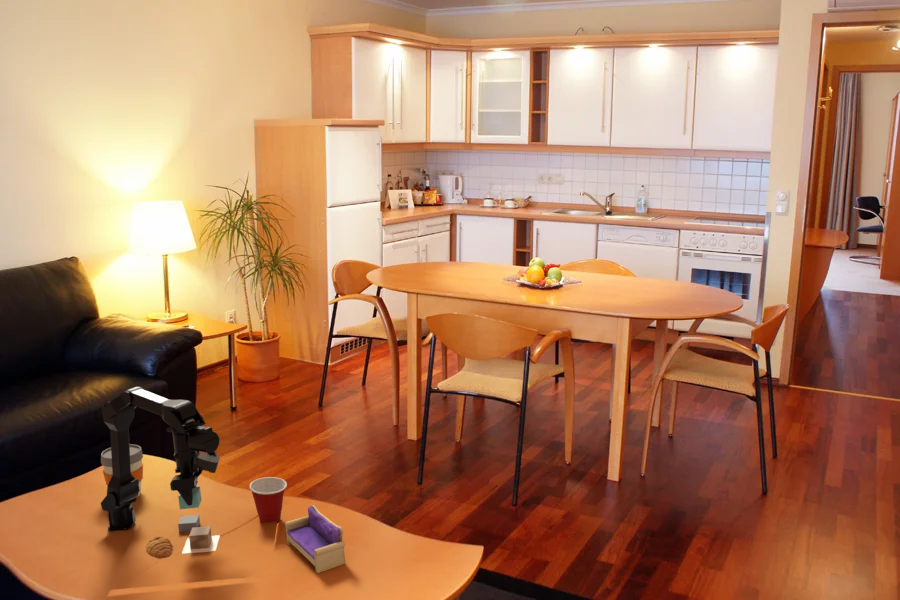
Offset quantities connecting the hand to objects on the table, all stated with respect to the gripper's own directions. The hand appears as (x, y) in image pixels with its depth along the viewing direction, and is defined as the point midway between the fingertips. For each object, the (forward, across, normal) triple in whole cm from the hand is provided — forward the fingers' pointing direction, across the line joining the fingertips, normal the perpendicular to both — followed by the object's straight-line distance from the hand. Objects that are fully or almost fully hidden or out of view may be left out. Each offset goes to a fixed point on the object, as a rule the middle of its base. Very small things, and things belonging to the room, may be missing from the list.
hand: (191, 501), depth 230 cm
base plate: (+14, -1, -2) cm, 14 cm away
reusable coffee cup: (+13, +40, +29) cm, 51 cm away
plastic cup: (+14, +12, -19) cm, 27 cm away
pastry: (+14, -2, +9) cm, 17 cm away
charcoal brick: (+14, +10, +4) cm, 17 cm away
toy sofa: (+15, -10, -33) cm, 38 cm away
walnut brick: (+12, -1, -2) cm, 13 cm away
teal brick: (+1, 0, 0) cm, 1 cm away
